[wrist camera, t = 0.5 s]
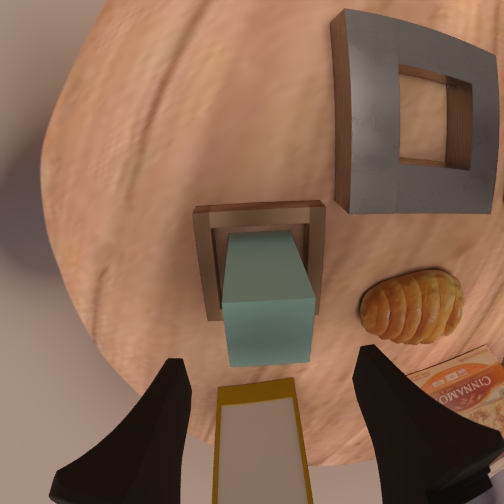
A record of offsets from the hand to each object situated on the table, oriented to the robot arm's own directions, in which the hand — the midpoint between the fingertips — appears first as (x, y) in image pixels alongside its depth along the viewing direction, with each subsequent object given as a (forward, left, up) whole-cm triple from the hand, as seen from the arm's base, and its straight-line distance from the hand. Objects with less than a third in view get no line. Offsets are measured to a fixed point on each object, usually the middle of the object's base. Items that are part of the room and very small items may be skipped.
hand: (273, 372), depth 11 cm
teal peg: (0, 0, -10) cm, 10 cm away
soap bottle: (+1, +14, -10) cm, 17 cm away
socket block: (-11, -10, -10) cm, 18 cm away
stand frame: (0, 0, -10) cm, 10 cm away
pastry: (-13, +5, -11) cm, 18 cm away
